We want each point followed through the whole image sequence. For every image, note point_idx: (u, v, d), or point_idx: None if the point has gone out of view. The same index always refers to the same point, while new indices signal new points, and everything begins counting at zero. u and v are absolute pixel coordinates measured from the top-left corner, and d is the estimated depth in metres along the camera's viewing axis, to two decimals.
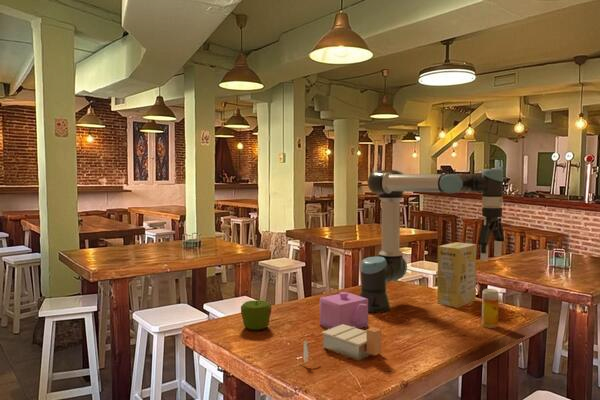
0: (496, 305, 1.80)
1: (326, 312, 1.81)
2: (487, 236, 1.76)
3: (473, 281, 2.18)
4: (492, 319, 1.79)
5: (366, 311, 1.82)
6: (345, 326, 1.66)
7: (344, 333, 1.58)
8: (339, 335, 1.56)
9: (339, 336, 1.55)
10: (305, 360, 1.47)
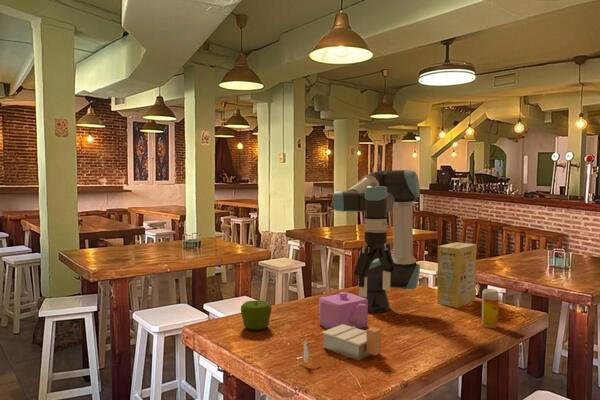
0: (496, 305, 1.80)
1: (325, 312, 1.81)
2: (366, 266, 1.46)
3: (473, 281, 2.18)
4: (492, 319, 1.79)
5: (365, 311, 1.82)
6: (345, 326, 1.66)
7: (344, 333, 1.58)
8: (339, 335, 1.56)
9: (339, 336, 1.55)
10: (305, 360, 1.47)
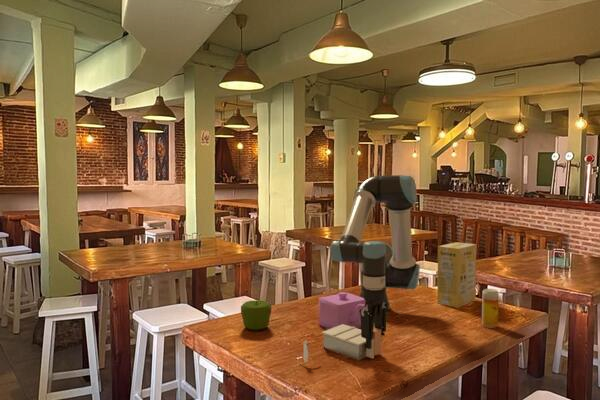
0: (496, 305, 1.80)
1: (325, 312, 1.81)
2: (370, 328, 1.48)
3: (473, 281, 2.18)
4: (492, 319, 1.79)
5: None
6: (345, 326, 1.66)
7: (344, 333, 1.58)
8: (339, 335, 1.56)
9: (339, 336, 1.55)
10: (305, 360, 1.47)
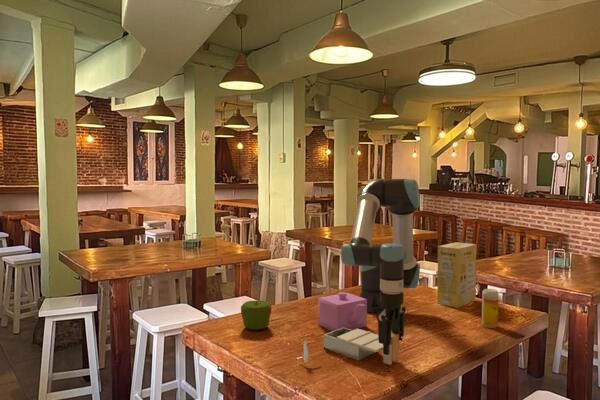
0: (496, 305, 1.80)
1: (325, 312, 1.81)
2: (388, 333, 1.43)
3: (473, 281, 2.18)
4: (492, 319, 1.79)
5: (365, 311, 1.82)
6: (360, 331, 1.61)
7: (360, 338, 1.53)
8: (355, 340, 1.51)
9: (355, 341, 1.50)
10: (305, 360, 1.47)
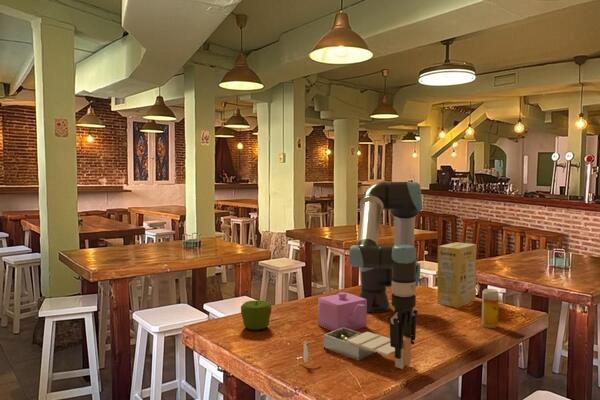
0: (496, 305, 1.80)
1: (324, 312, 1.81)
2: (400, 337, 1.40)
3: (473, 281, 2.18)
4: (492, 319, 1.79)
5: (365, 311, 1.82)
6: (370, 334, 1.57)
7: (370, 341, 1.50)
8: (365, 344, 1.48)
9: (365, 345, 1.47)
10: (305, 360, 1.47)
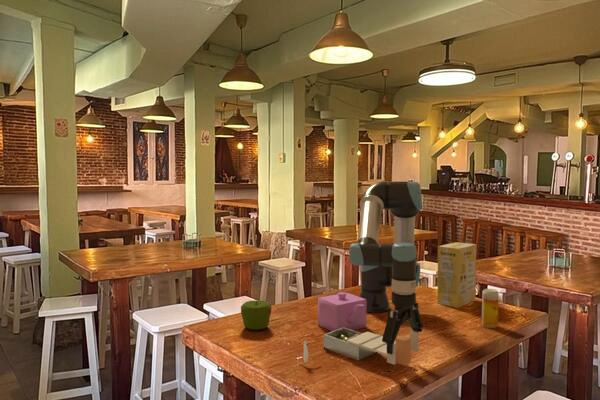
0: (496, 305, 1.80)
1: (324, 312, 1.81)
2: (394, 332, 1.37)
3: (473, 281, 2.18)
4: (492, 319, 1.79)
5: (364, 312, 1.81)
6: (370, 334, 1.57)
7: (370, 341, 1.50)
8: (365, 344, 1.48)
9: (365, 345, 1.47)
10: (305, 360, 1.47)
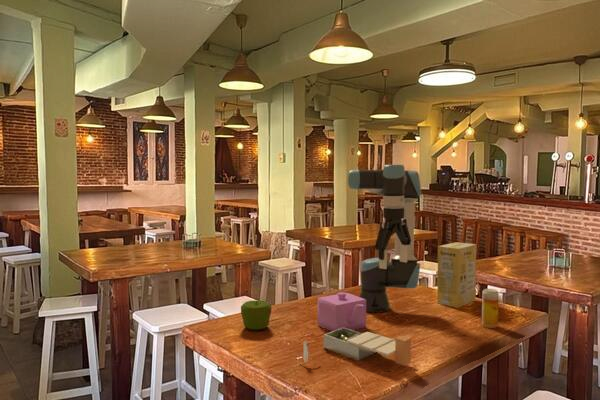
0: (496, 305, 1.80)
1: (324, 312, 1.81)
2: (385, 240, 1.56)
3: (473, 281, 2.18)
4: (492, 319, 1.79)
5: (364, 312, 1.81)
6: (370, 334, 1.57)
7: (370, 341, 1.50)
8: (365, 344, 1.48)
9: (365, 345, 1.47)
10: (305, 360, 1.47)
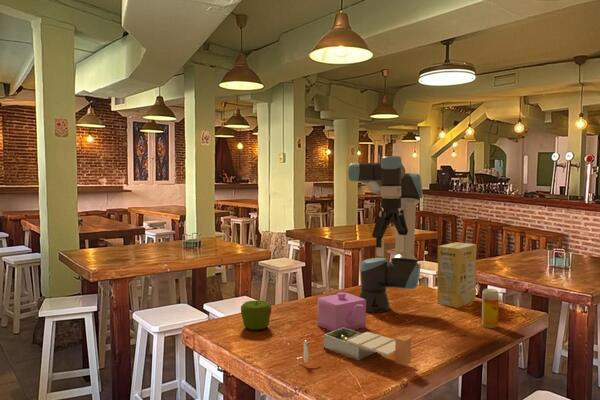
0: (496, 305, 1.80)
1: (323, 312, 1.81)
2: (383, 229, 1.62)
3: (473, 281, 2.18)
4: (492, 319, 1.79)
5: (364, 312, 1.81)
6: (370, 334, 1.57)
7: (370, 341, 1.50)
8: (365, 344, 1.48)
9: (365, 345, 1.47)
10: (305, 360, 1.47)
